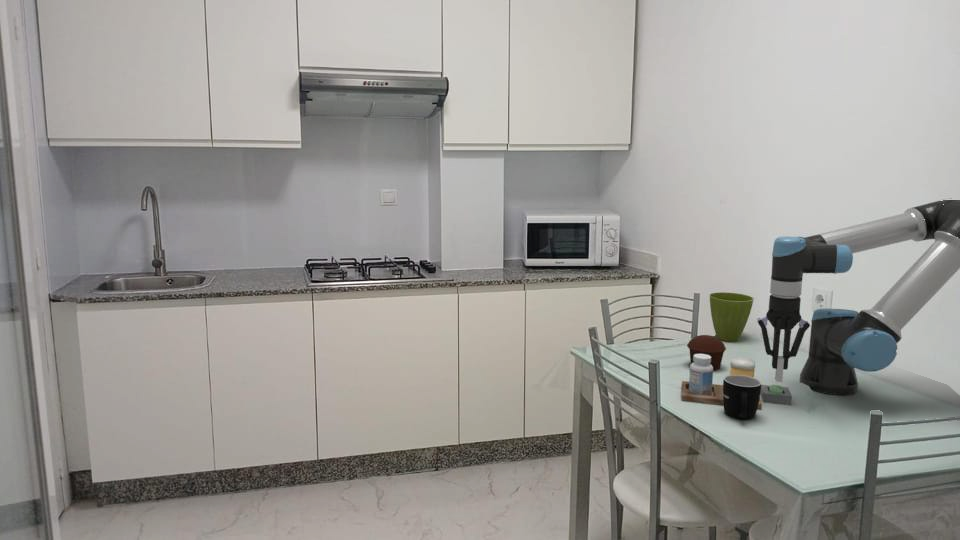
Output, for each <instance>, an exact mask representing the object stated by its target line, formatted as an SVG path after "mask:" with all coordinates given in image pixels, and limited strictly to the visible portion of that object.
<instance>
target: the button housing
mask: <svg viewBox="0 0 960 540" xmlns="http://www.w3.org/2000/svg"><path fill="white" fill-rule="evenodd" d="M770 385H771V384H770ZM770 385H769V384H768V385H767V384H761V392H760V399H761V402H762V403H767V404H768V403H769V404H777V405H785V406H792V402H793V401H792V400H793V395H792V392H791V390H790V388H789V387H787V386H782V387H783V393H774V392H769V387H770Z"/></svg>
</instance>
